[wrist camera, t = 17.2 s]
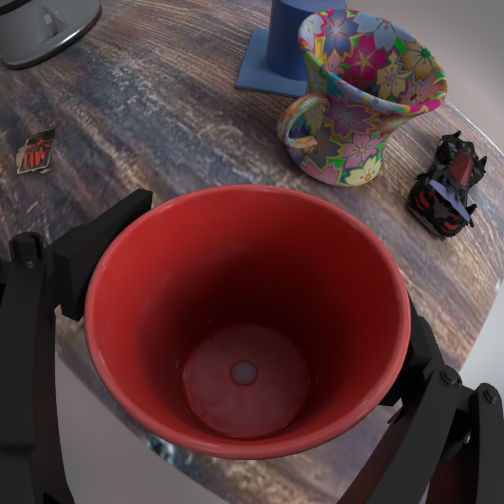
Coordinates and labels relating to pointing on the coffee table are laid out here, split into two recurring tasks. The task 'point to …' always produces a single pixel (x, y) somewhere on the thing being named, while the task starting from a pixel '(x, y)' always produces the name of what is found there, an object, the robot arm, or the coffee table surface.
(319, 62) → the mug
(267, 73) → the blue mat
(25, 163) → the matchbox
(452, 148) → the toy car
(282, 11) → the blue tin
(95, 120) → the coffee table surface
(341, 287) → the flower pot
